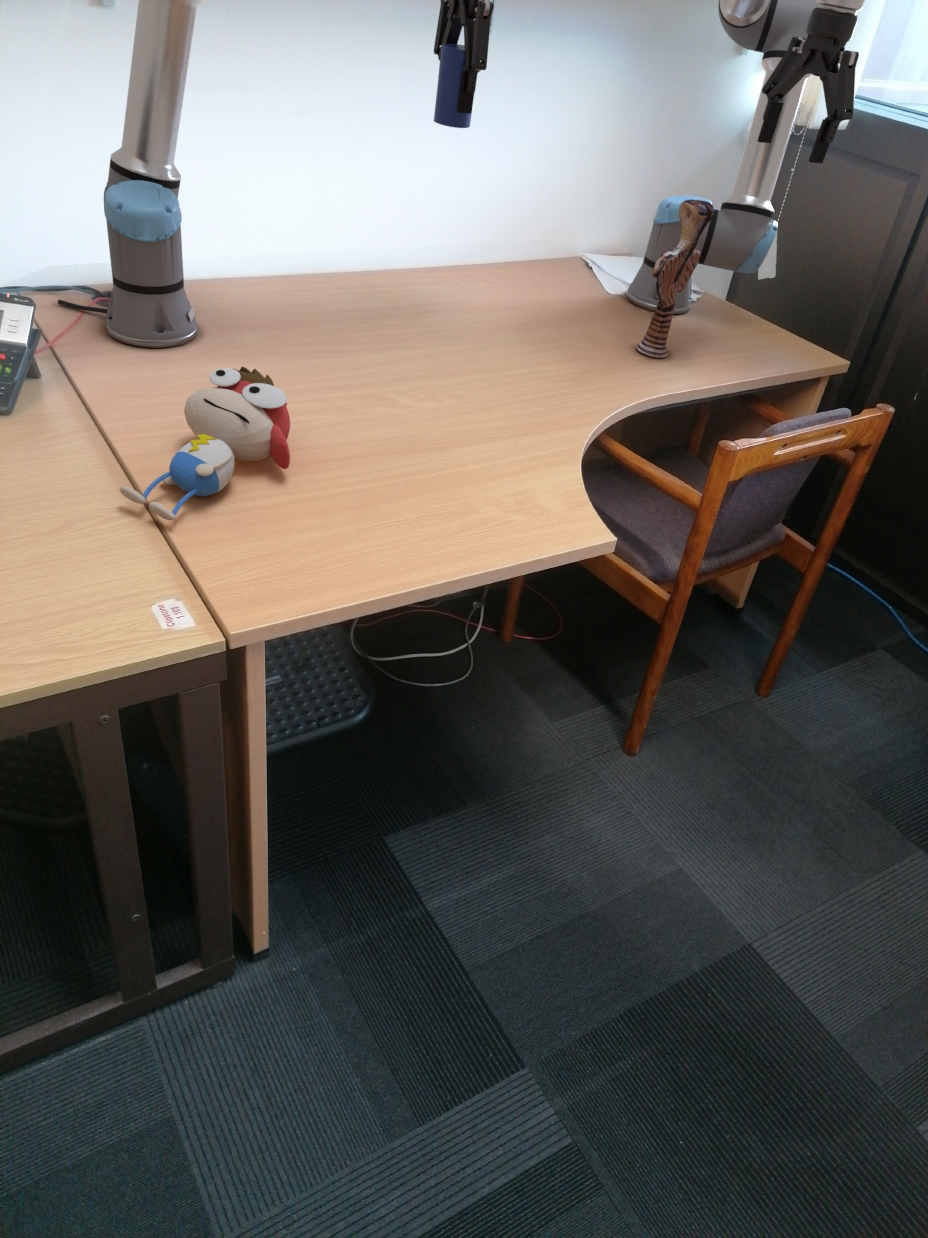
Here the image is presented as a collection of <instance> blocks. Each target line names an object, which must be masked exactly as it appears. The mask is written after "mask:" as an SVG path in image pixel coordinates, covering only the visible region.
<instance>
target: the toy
mask: <svg viewBox="0 0 928 1238" xmlns="http://www.w3.org/2000/svg"><path fill="white" fill-rule="evenodd" d="M208 377H209V381H210V382H211V384H213V385H215V387H207V388H201V389H198V390H196V391H195V392H193V393H192V394H190V395H189V396H188V397H187V399H186V401H185V405H184V410H183V411H184V417H185V420H186V423H187V426H188V427H189V429H190V430H191V432H192V433H193V435H194V436H195V437H197V438H196V439H191V440H190V442H188V443H186V444H185V445H183V446H182V447H181V448H179V450H177V451H176V453H175V454H174V455H173V457H172V459H171V460H170V463H169V464H170V465H169V469H168V471H167V472H165V473H163V474H161V475H160V476H158V477H157V478H156V479H154V480H153V481H152V482H151V483H150V484H149V485H148V486H147V487H146V489H145V490H144V491H143V493H142V494H141V493H139V492H138V490H135V489H134V488H132V487H130V486H127V485H121V486H120V487H119V493H120V494H121V495H122V496H123V497H125V498H126V499H128V500H130V501H131V502H133V503H136V504H140V505H144V504H146V503H147V498H148V496H149V495H150V493H151V492H152V491H153V490H154V488H155V487H156V486H157V485H159V484H160V483H161V482H162V483H163V484H165V485H168V486H173V485H176V486H177V487H178V488H180V489H181V490H183V491H184V492H186V494H185V495H184V496H182V497H181V498H180V500H178V502H177V503H176V504H175V506H174V508H173V509H172V511H171V510H170V509H169V508H168V507H167V506H165V505H163V504H161V503H159V502H156V501H151V502H150V503H149V504H148V507H149V509H150V511H151V512H152V513H154V514H155V515H157V516H158V517H160V518H162V519H163V520H166V521H176V519H177V516H176V515H177V514H178V513H179V510H180V508H181V507H182V506H184V504H185V503H186V502H187V501H188V500H189V499H190V498H191V497H193V496H197V497H198V496H199V497H207V496H211V495H214V494H217V493H218V492H220V491H221V490H222V489H224V488H225V487H226V486H227V485H228V484H229V482H230V480H231V479H232V476H233V474H234V471H235V466H236V465H235V464H236V463H235V462H236V461H235V460H238V461H242V462H252V461H253V462H255V461H261V460H264V459H267V457H269V456H270V457H271V459H272V461H273V462H274V463H275V465H276V466H278V467H279V468H280V469H283V470H287V469H288V468H289V467H290V463H291V456H290V455H291V454H290V449H289V444H288V442H287V440H288V438H289V434H290V429H291V417H290V411H289V409H288V407H287V405H288V403H287V401H288V398H287V395H286V393H285V392H284V391H283V390H281V389H280V388H278V387H276V386H275V384H274V381H273V379H272V378H271V376H269V374H266V375H265V376H264V375H263V374H262V373H261V372H259V371H258V370H257V368H253V369H252V371H250V370H249V369H248V368H247V367H244V366H241V367H240V368H239V370H238V369H237V368H234V367H233V368H230V367H223V368H222V367H221V368H217V369H215V370H214V371H212V372H211V373H210V374H209V376H208Z"/></svg>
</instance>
